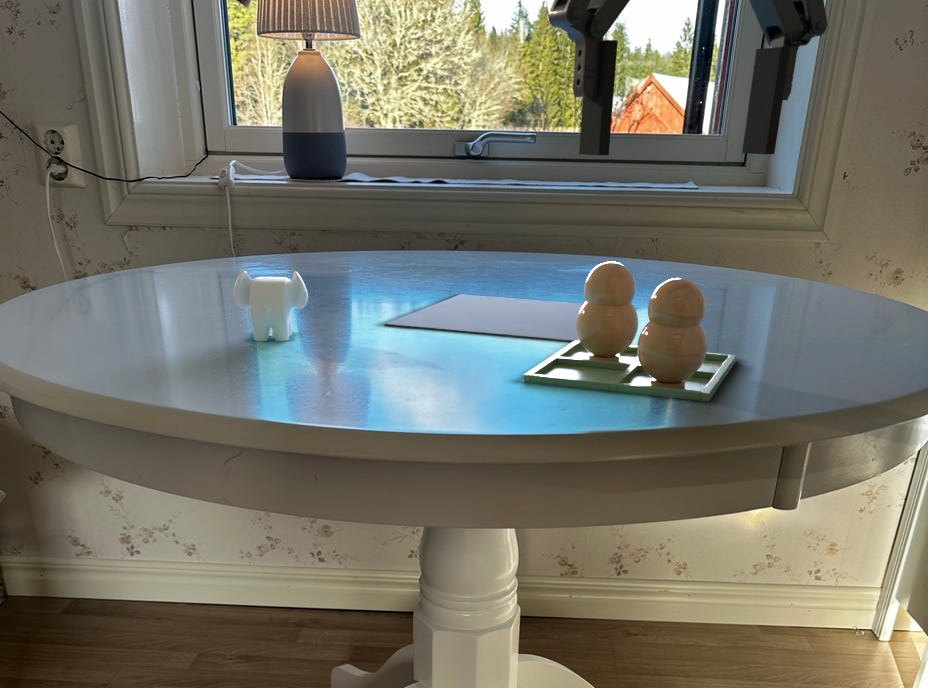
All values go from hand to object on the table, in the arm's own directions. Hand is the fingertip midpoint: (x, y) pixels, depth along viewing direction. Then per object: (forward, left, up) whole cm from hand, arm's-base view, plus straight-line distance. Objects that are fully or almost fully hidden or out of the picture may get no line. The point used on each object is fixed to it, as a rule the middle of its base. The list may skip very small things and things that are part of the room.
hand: (678, 155), depth 67 cm
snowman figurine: (+6, -6, -16) cm, 18 cm away
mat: (+19, -22, -16) cm, 33 cm away
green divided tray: (+2, -3, -16) cm, 17 cm away
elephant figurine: (+36, -3, -16) cm, 40 cm away
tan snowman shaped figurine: (-1, 0, -16) cm, 16 cm away
